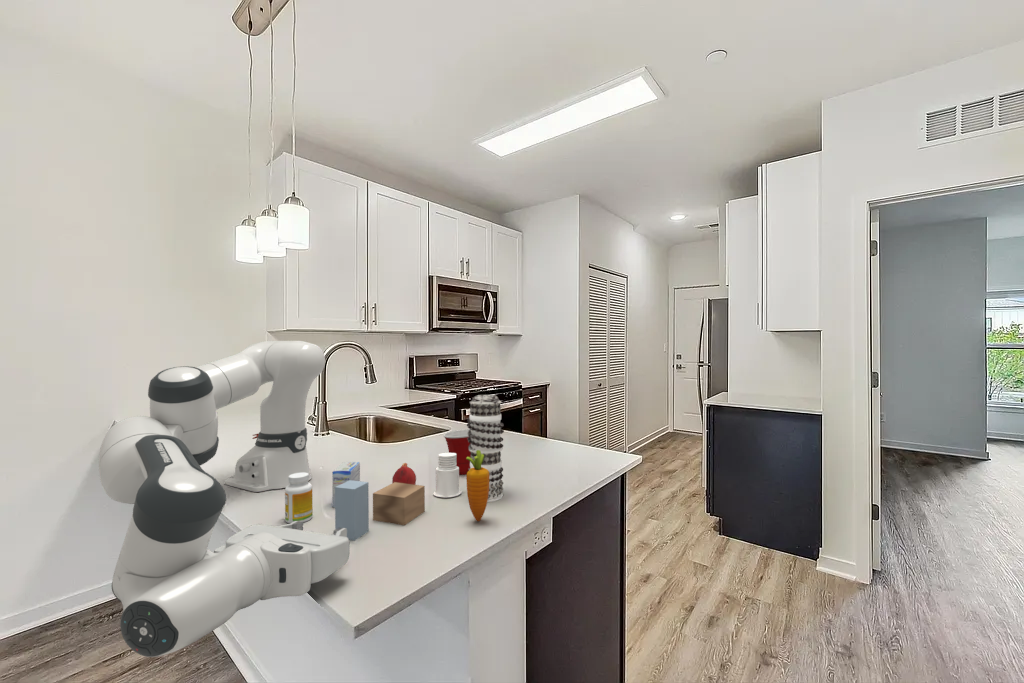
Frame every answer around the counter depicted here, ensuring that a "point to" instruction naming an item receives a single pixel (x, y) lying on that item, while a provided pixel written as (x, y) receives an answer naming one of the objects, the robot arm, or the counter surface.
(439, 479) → the downlight
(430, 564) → the counter surface
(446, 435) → the plastic cup
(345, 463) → the medicine box
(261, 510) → the counter surface
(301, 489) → the supplement bottle
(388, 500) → the walnut block
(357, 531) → the slate pillar
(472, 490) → the carrot
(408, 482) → the red round fruit
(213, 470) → the counter surface
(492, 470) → the decorative candle
